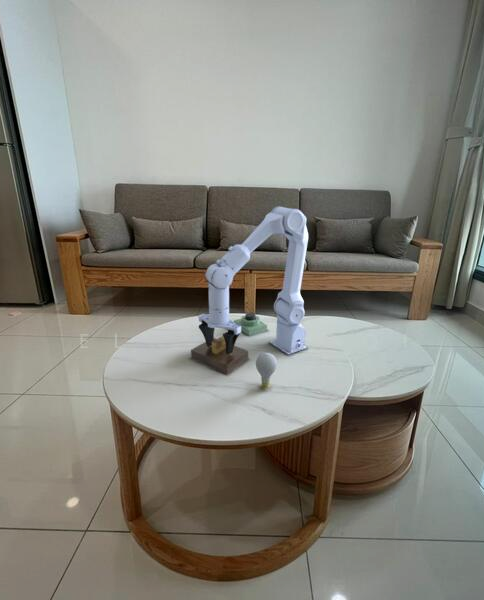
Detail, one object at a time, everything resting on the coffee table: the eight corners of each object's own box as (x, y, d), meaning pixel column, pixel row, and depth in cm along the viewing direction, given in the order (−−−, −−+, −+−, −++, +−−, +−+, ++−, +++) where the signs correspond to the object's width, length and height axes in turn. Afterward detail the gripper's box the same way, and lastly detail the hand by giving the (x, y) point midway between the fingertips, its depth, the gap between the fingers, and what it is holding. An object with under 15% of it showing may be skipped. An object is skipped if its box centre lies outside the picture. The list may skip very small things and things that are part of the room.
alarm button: (257, 319, 116) (257, 315, 116) (249, 321, 114) (249, 317, 114) (251, 316, 119) (251, 312, 118) (243, 318, 117) (243, 314, 116)
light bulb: (250, 388, 84) (251, 354, 80) (263, 379, 88) (265, 346, 84) (266, 396, 81) (268, 362, 77) (279, 387, 85) (282, 354, 81)
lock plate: (248, 359, 97) (248, 350, 96) (227, 374, 90) (227, 364, 88) (213, 345, 105) (213, 337, 104) (191, 358, 97) (190, 349, 96)
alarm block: (267, 330, 116) (267, 320, 115) (248, 336, 112) (249, 325, 111) (251, 321, 124) (251, 311, 123) (233, 325, 120) (233, 315, 118)
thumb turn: (223, 346, 98) (222, 334, 97) (227, 347, 98) (227, 336, 96) (212, 352, 94) (211, 341, 93) (216, 354, 94) (215, 342, 92)
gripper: (190, 304, 92) (192, 346, 97) (230, 317, 84) (230, 362, 89) (207, 298, 97) (208, 338, 102) (246, 309, 90) (245, 352, 94)
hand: (219, 348), depth 96 cm, fingers open, 7 cm apart
